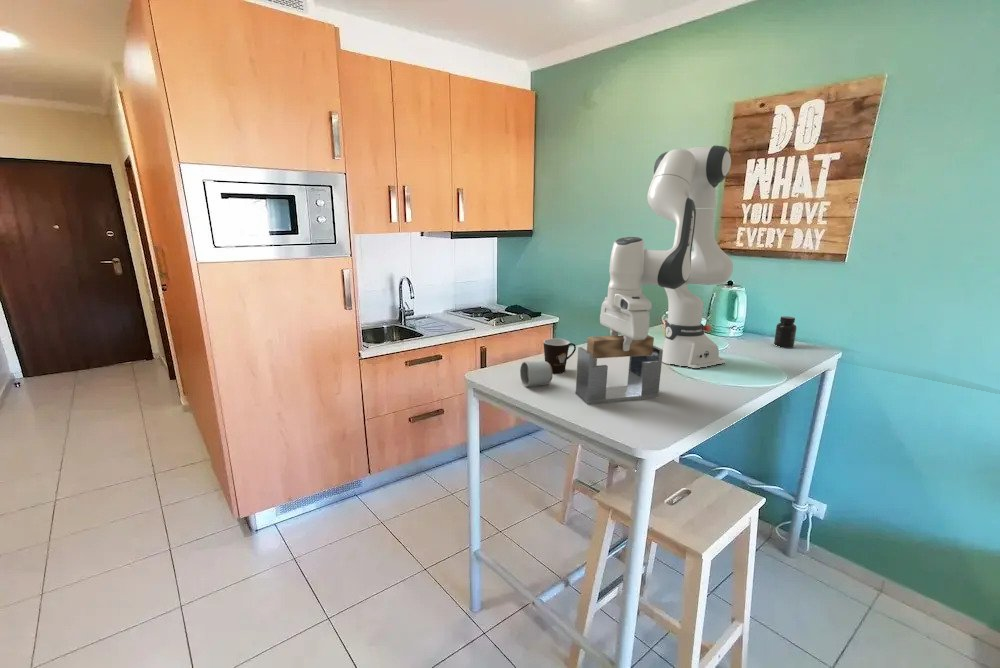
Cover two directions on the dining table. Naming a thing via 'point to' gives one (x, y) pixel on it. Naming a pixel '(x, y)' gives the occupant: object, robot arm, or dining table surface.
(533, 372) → the ceramic mug
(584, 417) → the dining table surface
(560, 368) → the coffee mug
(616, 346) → the rail
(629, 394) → the bracket pair
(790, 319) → the supplement bottle
